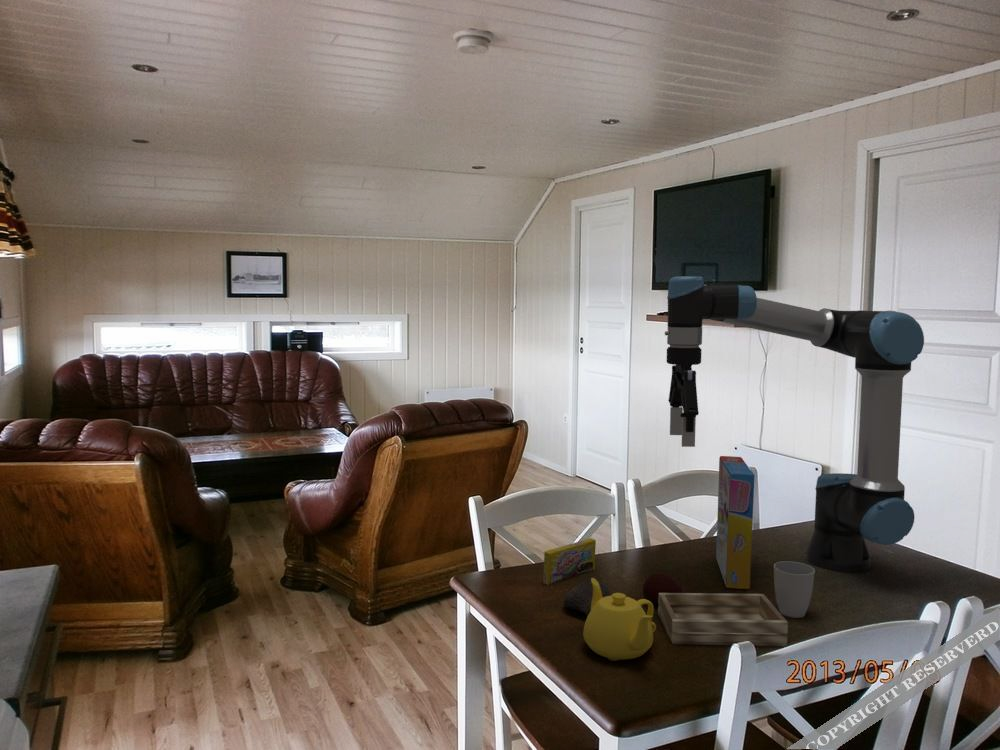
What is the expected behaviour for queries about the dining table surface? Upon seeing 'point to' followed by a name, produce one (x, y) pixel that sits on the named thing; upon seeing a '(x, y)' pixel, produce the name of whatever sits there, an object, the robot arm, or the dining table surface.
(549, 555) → the candy box
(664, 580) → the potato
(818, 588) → the dining table surface
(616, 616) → the teapot
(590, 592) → the stone
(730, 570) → the game box
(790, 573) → the cup
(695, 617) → the tray
